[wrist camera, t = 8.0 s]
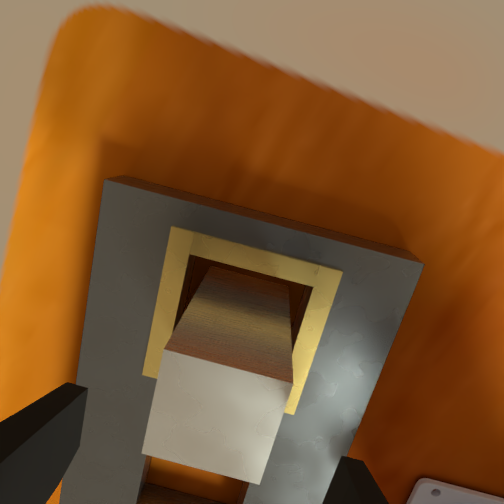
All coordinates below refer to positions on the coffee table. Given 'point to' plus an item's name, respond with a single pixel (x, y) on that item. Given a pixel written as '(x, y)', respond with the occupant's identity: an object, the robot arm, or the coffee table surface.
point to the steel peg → (224, 378)
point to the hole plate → (171, 311)
